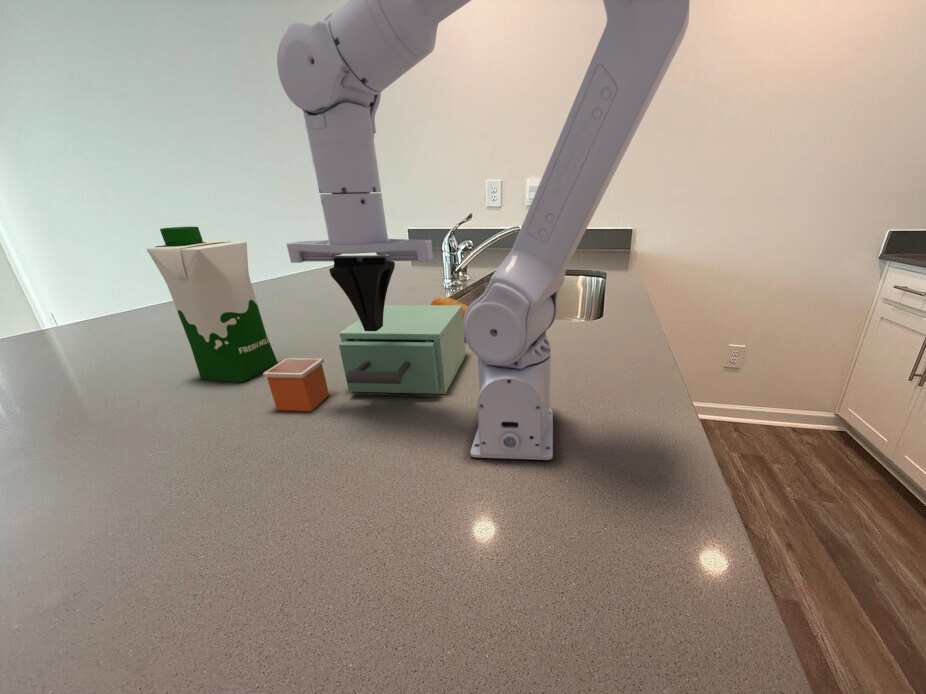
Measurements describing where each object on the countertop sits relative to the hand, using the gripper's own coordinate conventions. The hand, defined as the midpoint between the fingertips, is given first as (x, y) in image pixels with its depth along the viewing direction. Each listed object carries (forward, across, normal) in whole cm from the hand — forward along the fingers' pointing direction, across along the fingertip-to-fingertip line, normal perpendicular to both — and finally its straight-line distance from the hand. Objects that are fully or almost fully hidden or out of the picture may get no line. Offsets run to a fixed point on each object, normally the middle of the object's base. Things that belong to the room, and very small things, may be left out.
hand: (374, 328), depth 45 cm
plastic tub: (+10, +11, 0) cm, 15 cm away
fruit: (+10, -2, -26) cm, 28 cm away
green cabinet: (+10, 0, -10) cm, 14 cm away
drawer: (+9, 0, -6) cm, 11 cm away
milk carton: (+10, +26, -10) cm, 29 cm away
